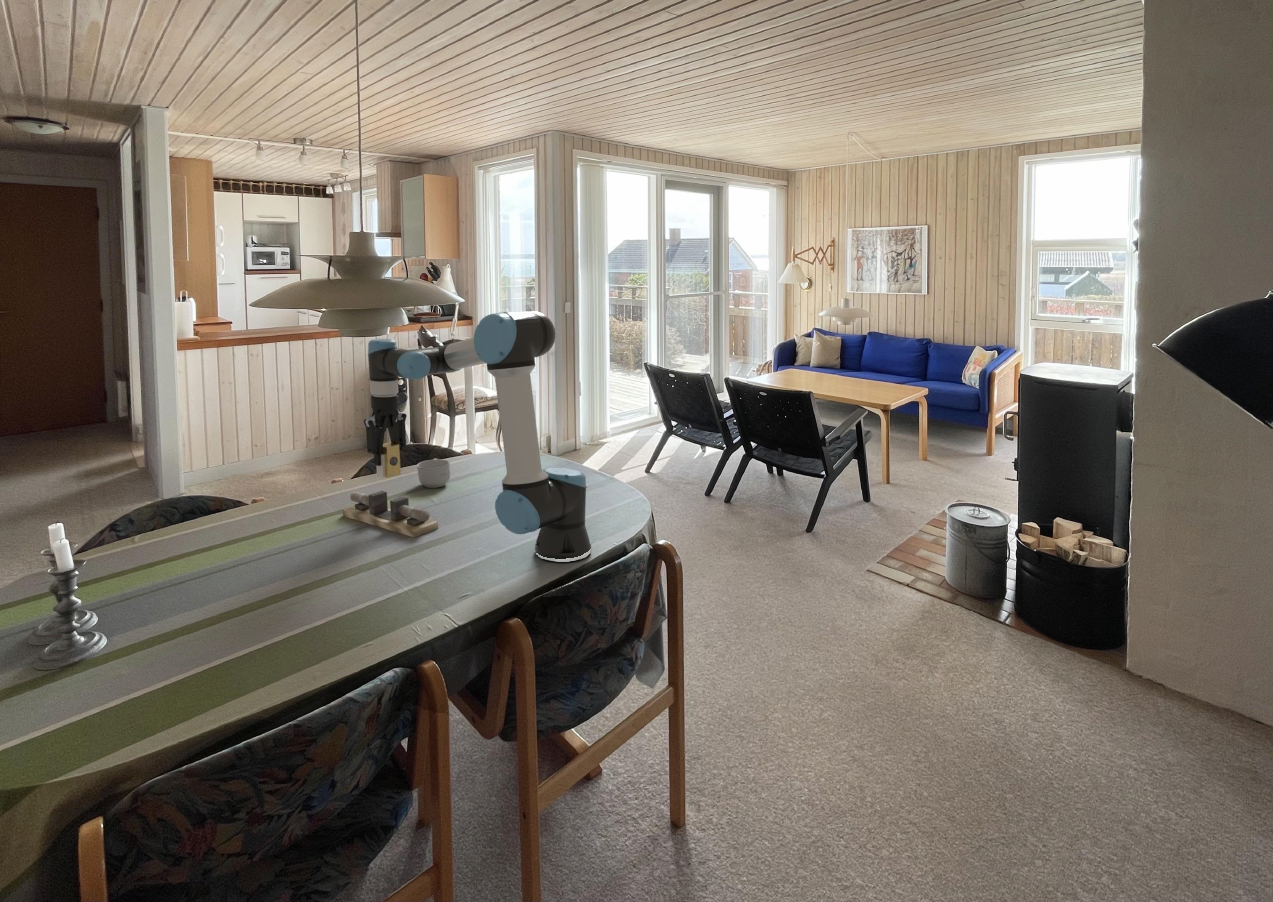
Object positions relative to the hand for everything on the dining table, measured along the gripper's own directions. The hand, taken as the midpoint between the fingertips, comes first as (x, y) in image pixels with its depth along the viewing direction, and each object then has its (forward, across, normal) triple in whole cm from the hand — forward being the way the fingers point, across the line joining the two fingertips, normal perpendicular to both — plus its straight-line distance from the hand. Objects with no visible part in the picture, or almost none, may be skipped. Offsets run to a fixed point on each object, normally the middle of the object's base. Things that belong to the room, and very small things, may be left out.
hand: (388, 473), depth 218 cm
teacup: (+15, -34, -17) cm, 41 cm away
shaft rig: (+15, 0, 0) cm, 15 cm away
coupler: (0, 0, 0) cm, 0 cm away
